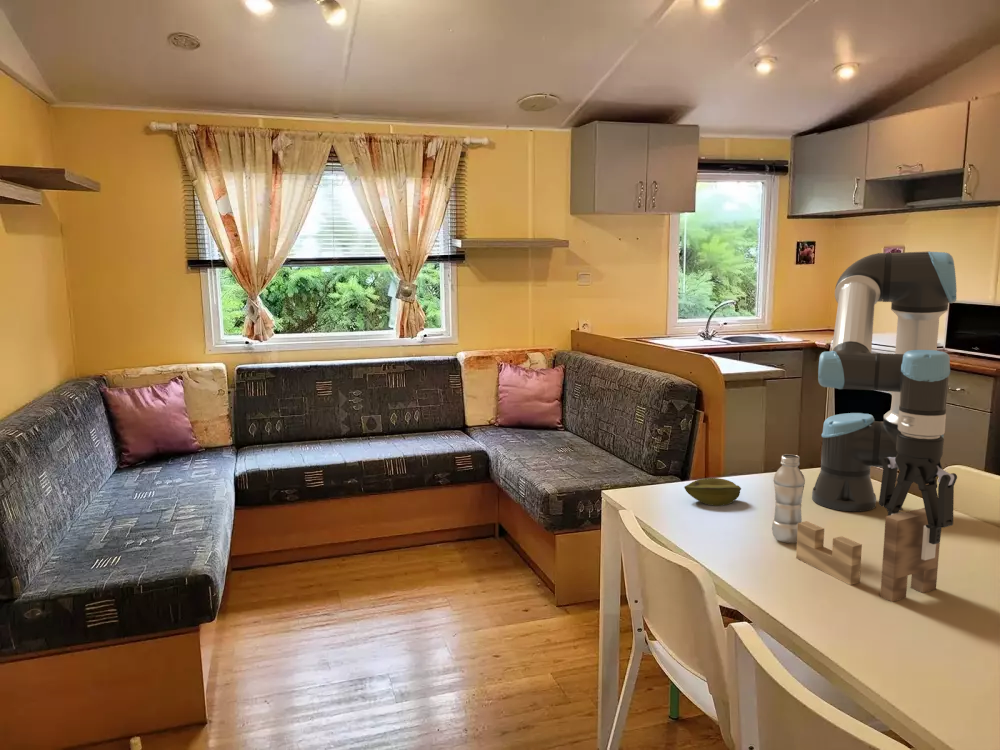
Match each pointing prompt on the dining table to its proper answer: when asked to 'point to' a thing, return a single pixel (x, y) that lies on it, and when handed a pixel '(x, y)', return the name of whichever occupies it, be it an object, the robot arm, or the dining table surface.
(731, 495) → the fruit
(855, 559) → the oak slot board
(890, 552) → the wooden flat notched block
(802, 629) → the dining table surface
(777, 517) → the plastic bottle
